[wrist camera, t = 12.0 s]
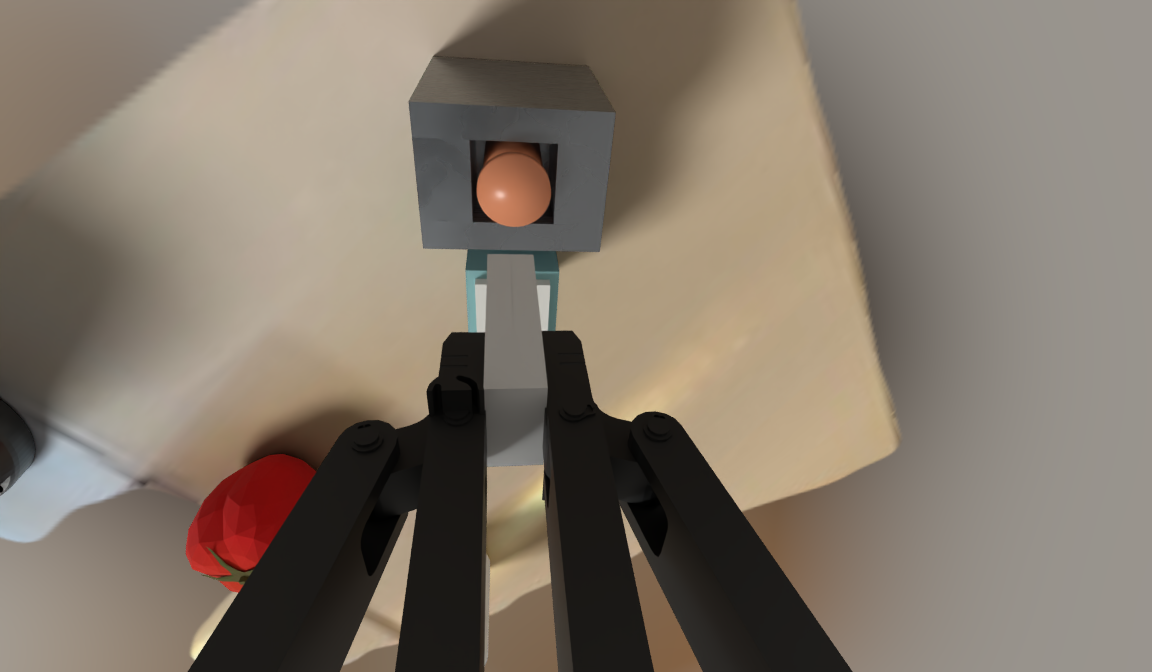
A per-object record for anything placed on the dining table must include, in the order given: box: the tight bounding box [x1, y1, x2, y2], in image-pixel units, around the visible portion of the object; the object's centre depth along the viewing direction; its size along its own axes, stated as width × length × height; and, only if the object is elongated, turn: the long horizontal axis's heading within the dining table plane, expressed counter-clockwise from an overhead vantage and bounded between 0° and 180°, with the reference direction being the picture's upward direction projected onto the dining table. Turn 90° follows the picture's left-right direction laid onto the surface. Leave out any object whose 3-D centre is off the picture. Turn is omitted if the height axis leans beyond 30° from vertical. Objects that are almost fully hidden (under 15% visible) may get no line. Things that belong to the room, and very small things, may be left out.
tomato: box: [186, 454, 316, 593], centre depth 47 cm, size 11×13×10 cm
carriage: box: [466, 249, 559, 332], centre depth 34 cm, size 5×6×9 cm
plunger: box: [477, 141, 551, 227], centre depth 27 cm, size 3×3×6 cm
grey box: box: [409, 56, 616, 252], centre depth 30 cm, size 9×7×10 cm
